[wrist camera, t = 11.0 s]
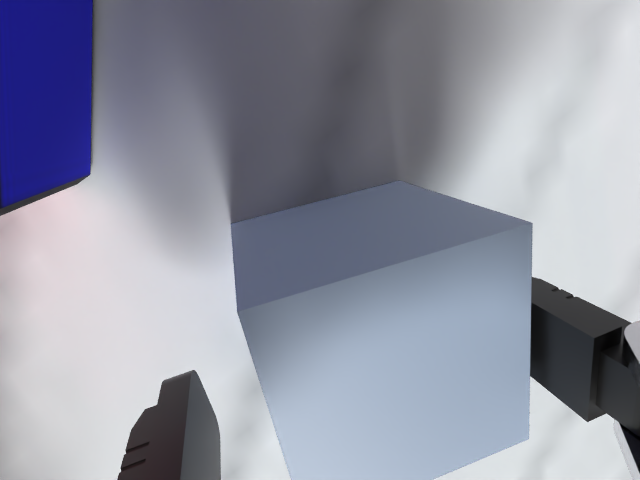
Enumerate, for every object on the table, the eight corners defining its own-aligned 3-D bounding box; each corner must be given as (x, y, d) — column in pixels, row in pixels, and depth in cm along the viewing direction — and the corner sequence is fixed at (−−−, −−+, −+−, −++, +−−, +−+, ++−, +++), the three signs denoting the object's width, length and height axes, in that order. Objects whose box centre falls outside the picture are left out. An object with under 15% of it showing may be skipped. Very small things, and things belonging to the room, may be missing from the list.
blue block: (398, 180, 13) (532, 222, 7) (414, 321, 15) (528, 438, 9) (230, 223, 12) (237, 311, 6) (273, 368, 14) (308, 532, 8)
